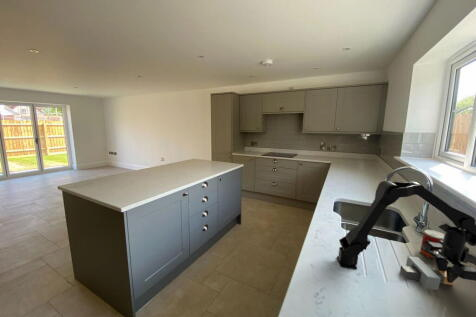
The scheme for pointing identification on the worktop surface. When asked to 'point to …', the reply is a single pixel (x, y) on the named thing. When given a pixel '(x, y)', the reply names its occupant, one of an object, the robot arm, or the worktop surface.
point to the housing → (424, 273)
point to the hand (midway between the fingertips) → (445, 278)
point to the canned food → (430, 237)
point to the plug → (416, 274)
